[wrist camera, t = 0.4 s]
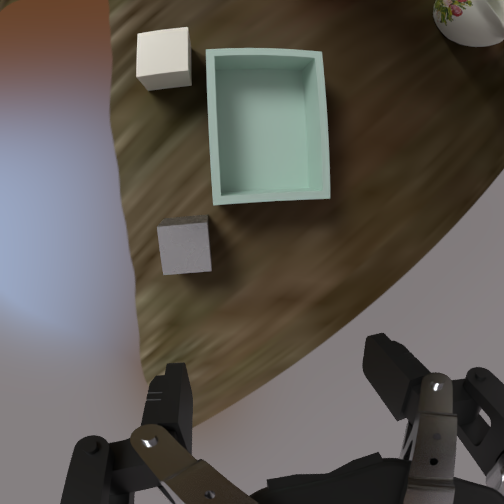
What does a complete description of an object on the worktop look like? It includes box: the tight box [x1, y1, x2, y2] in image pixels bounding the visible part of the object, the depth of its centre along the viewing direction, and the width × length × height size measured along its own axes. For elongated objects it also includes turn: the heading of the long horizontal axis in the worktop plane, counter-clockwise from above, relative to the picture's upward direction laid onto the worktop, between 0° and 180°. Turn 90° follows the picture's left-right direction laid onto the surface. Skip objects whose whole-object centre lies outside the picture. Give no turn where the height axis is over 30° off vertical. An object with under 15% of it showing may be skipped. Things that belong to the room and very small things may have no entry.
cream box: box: [136, 27, 192, 91], centre depth 26 cm, size 5×5×6 cm
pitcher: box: [433, 0, 504, 47], centre depth 23 cm, size 11×18×14 cm, turn 177°
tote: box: [206, 48, 330, 205], centre depth 30 cm, size 16×12×6 cm
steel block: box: [157, 215, 212, 275], centre depth 32 cm, size 5×5×5 cm
